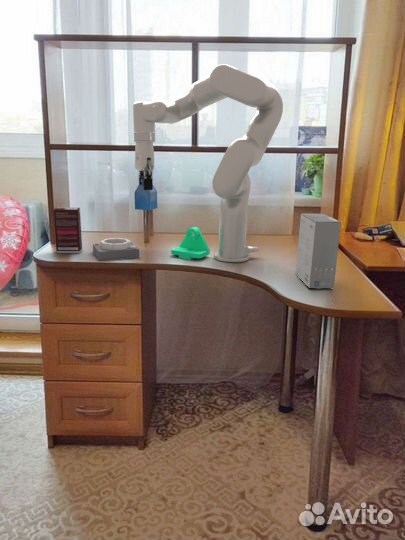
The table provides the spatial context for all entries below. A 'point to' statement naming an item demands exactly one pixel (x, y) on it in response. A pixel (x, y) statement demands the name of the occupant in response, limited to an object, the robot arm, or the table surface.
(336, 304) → the table surface
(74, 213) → the supplement box
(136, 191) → the perfume bottle
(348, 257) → the table surface
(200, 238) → the camera mount
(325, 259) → the hard drive box
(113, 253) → the camera body block
